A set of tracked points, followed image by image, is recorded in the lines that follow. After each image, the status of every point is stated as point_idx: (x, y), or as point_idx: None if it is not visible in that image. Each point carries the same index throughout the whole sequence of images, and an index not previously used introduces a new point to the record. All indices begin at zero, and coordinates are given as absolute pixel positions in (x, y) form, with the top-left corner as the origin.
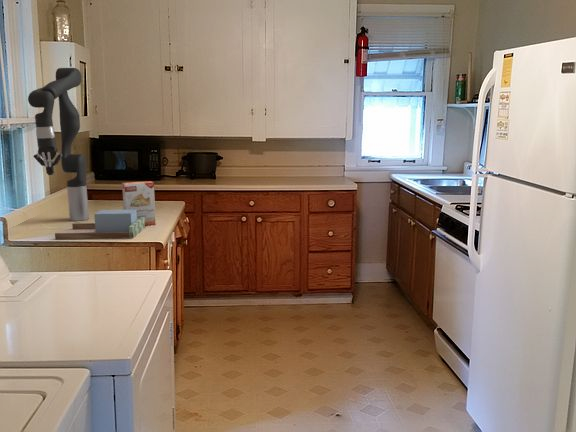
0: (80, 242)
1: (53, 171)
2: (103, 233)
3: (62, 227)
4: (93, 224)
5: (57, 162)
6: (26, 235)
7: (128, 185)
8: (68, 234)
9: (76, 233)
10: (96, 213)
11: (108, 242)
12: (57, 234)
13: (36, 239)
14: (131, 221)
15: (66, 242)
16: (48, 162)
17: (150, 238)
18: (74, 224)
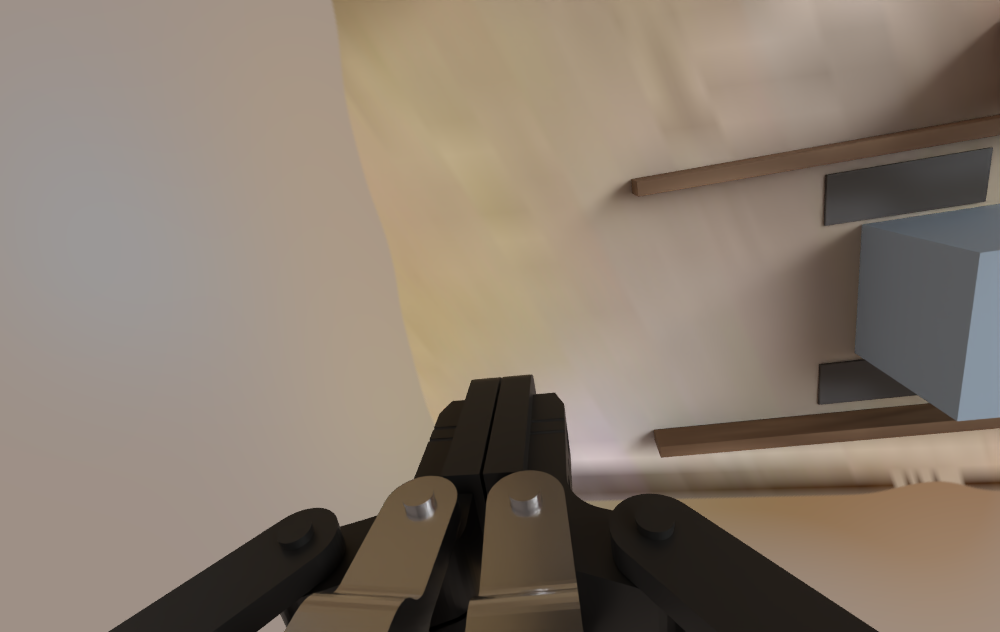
0: (814, 488)
1: (565, 428)
2: (946, 430)
3: (536, 146)
4: (791, 169)
5: (742, 583)
6: (453, 369)
7: None
8: (734, 447)
9: (782, 446)
10: (971, 402)
11: (970, 484)
12: (674, 453)
13: None
14: None
15: (741, 490)
16: (426, 594)
17: None
18: (653, 193)
